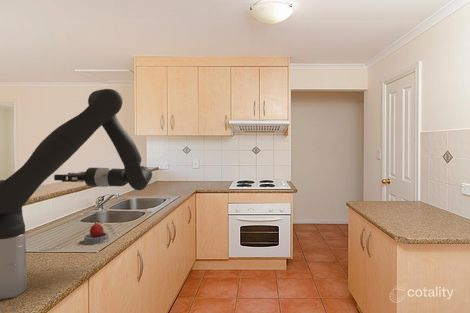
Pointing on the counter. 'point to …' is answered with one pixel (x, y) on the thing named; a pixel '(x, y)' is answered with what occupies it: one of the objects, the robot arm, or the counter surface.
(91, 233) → the onion
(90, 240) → the grey round tray
